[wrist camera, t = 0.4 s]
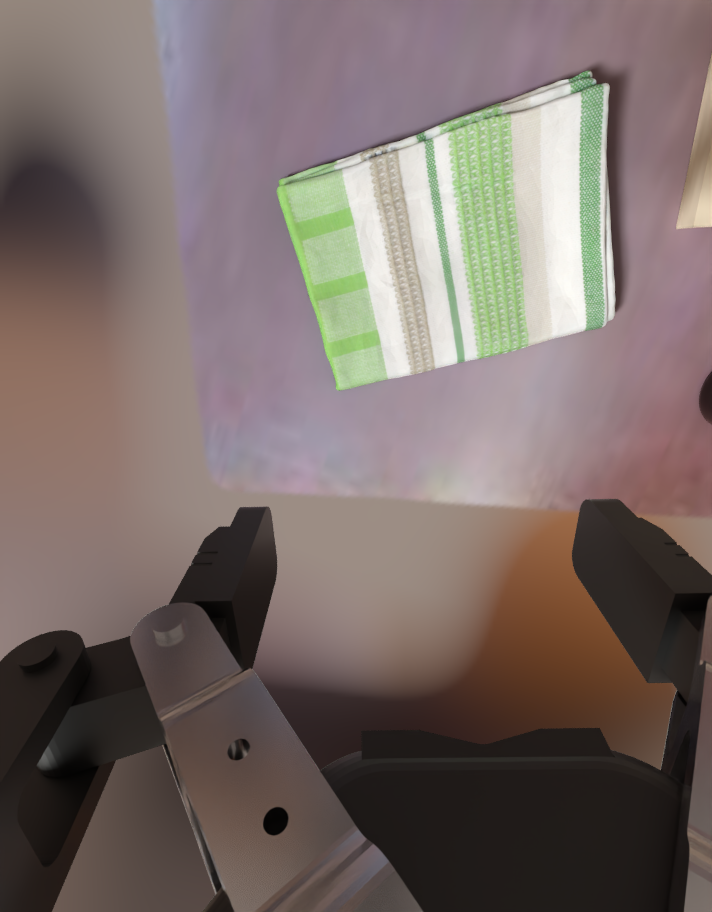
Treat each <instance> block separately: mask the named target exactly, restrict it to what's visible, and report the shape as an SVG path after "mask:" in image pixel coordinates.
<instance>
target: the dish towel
mask: <svg viewBox="0 0 712 912" xmlns="http://www.w3.org/2000/svg"><path fill="white" fill-rule="evenodd" d="M596 83H597V82H596V80H595V79H593V78H592V72H591V71H589V70H588V71H585V72H582V73H581V74H579V75H577V76H575V77H573V78H571V79H566V80H561V81H558V82H555V83H553V84H550V85H547V86H544V87H540V88H538V89H536V90H534V91H531V92H528V93H525V94H523V95H521V96H518V97H516V98H513V99H511V100H508V101H506V102H502V103H497V104H495V105H492V106H489V107H486V108H484V109H482V110H479V111H476V112H474V113H471V114H467V115H465V116H462V117H459V118H455V119H453V120H451V121H448V122H446V123H443V124H441V125H438V126H436V127H434V128H431V129H429V130H427V131H425V132H422V133H420V134H417V135H414V136H411V137H408V138H405V139H403V140H401V141H397V142H394V143H388V144H386V145H382V146H378V147H376V148H370V149H368V150H366V151H363V152H360V153H358V154H356V155H353V156H350V157H347V158H344V159H340V160H337V161H335V162H333V163H329V164H324V165H321V166H318V167H314V168H311V169H308V170H306V171H303V172H301V173H297V174H295V175H293V176H290V177H286V178H282V179H281V180H279V185H280V186H279V187H278V188H277V194H278V198H279V202H280V205H281V208H282V211H283V214H284V217H285V220H286V224H287V227H288V230H289V234H290V236H291V239H292V242H293V245H294V248H295V251H296V254H297V257H298V260H299V263H300V266H301V269H302V272H303V276H304V279H305V283H306V287H307V290H308V294H309V297H310V300H311V302H312V305H313V308H314V310H315V313H316V316H317V320H318V323H319V327H320V331H321V334H322V338H323V343H324V348H325V352H326V355H327V357H328V360H329V362H330V365H331V368H332V370H333V374H334V377H335V380H336V389H337V390H339V391H340V390H345V389H350V388H354V387H357V386H362V385H366V384H370V383H374V382H378V381H382V380H387V379H392V378H398V377H403V376H408V375H413V374H419V373H423V372H427V371H430V370H434V369H436V368H440V367H444V366H448V365H452V364H456V363H460V362H465V361H469V360H476V359H480V358H487V357H490V356H495V355H497V354H502V353H507V352H509V351H515V350H518V349H521V348H525V347H527V346H531V345H534V344H538V343H541V342H544V341H547V340H550V339H554V338H557V337H563V336H567V335H571V334H575V333H578V332H582V331H587V330H593V329H598V328H602V327H604V326H605V325H606V323H607V321H610V320H612V319H613V318H614V316H615V279H614V270H613V263H614V262H613V251H612V240H611V219H610V202H609V187H608V174H607V157H606V149H607V125H608V111H609V109H608V97H609V91H610V86H609V84H607V83H603V84H597V85H596Z"/></svg>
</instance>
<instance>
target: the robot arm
mask: <svg viewBox="0 0 712 912" xmlns="http://www.w3.org/2000/svg"><path fill="white" fill-rule="evenodd" d="M572 561H573V566H574V570H575V573H576V575H577V576H578V578H579V579H580V581H581V583H582V584H583V586H584V587H585V589H586V590H587V592H588V593H589V595H590V596H591V597H592V599H593V601H594V602H595V604H596V605H597V607H598V608H599V610H600V611H601V613H602V614H603V616H604V617H605V619H606V620H607V622H608V623H609V625H610V627H611V628H612V630H613V631H614V633H615V634H616V636H617V637H618V639H619V640H620V642H621V643H622V645H623V646H624V648H625V649H626V651H627V652H628V654H629V655H630V657H631V658H632V660H633V662H634V663H635V665H636V666H637V668H638V669H639V671H640V672H641V674H642V675H643V677H644V678H645V680H646V681H647V683H673V684H674V686H675V687H676V688H677V691H676V694H675V697H674V700H673V704H672V709H671V715H670V720H669V726H668V732H667V738H666V743H665V748H664V754H663V761H662V765H661V770H659V769H657V768H655V767H653V766H651V765H650V764H647V763H645V762H643V761H640V760H638V759H636V758H634V757H631V756H628V755H625V754H622V753H619V752H617V751H612V750H610V748H609V746H608V744H607V742H606V740H605V738H604V736H603V734H602V732H601V730H600V728H563V729H538V730H535V731H531V732H528V733H524V734H521V735H518V736H514V737H511V738H507V739H503V740H500V741H497V742H493V743H490V744H476V743H472V742H468V741H463V740H459V739H455V738H451V737H446V736H442V735H438V734H434V733H429V732H425V731H421V730H391V731H388V730H387V731H362V751H359V752H356V753H352V754H349V755H347V756H345V757H343V758H340V759H338V760H336V761H335V762H333V763H331V764H329V765H328V766H326V767H324V768H323V769H322V770H319V769H318V767H317V766H316V764H315V763H314V761H313V760H312V758H311V757H310V755H309V754H308V752H307V751H306V749H305V747H304V746H303V744H302V743H301V741H300V740H299V738H298V737H297V736H296V734H295V732H294V731H293V729H292V728H291V726H290V725H289V723H288V722H287V720H286V719H285V717H284V716H283V714H282V712H281V711H280V709H279V708H278V706H277V705H276V703H275V702H274V700H273V699H272V697H271V696H270V694H269V693H268V691H267V690H266V688H265V687H264V685H263V684H262V682H261V681H260V679H259V678H258V676H257V675H256V674H255V672H254V671H253V670H252V668H253V665H254V661H255V657H256V653H257V650H258V646H259V641H260V638H261V634H262V630H263V627H264V623H265V619H266V615H267V612H268V608H269V604H270V600H271V596H272V593H273V588H274V585H275V581H276V575H277V555H276V546H275V539H274V532H273V523H272V516H271V511H270V508H269V507H240V508H239V510H238V511H237V513H236V516H235V518H234V520H233V522H232V524H231V526H230V527H218V528H217V529H216V530H215V531H214V532H212V533H211V534H210V535H209V536H207V537H206V538H205V539H204V541H203V543H202V545H201V546H200V548H199V550H198V552H197V555H196V556H195V557H194V559H193V561H192V563H191V566H189V568H188V570H187V572H186V574H185V576H184V578H183V579H182V581H181V583H180V585H179V586H178V588H177V590H176V592H175V594H174V596H173V598H172V599H171V601H170V603H169V605H165V606H162V607H160V608H158V609H156V610H154V611H152V612H150V613H149V614H147V615H146V616H145V617H143V618H142V619H141V620H140V621H139V622H138V623H137V625H136V626H135V627H134V629H133V631H132V633H131V636H129V637H126V638H122V639H119V640H115V641H111V642H107V643H103V644H99V645H96V646H92V647H88V648H85V645H84V642H83V640H82V638H81V636H80V635H79V634H77V633H75V632H72V631H67V630H60V631H53V632H48V633H45V634H41V635H39V636H36V637H34V638H32V639H30V640H28V641H26V642H24V643H22V644H21V645H19V646H17V647H16V648H15V649H13V650H12V651H11V652H10V653H8V655H6V656H5V657H4V658H3V659H2V660H1V661H0V912H52V910H53V908H54V905H55V903H56V900H57V898H58V896H59V893H60V891H61V889H62V886H63V884H64V882H65V879H66V877H67V874H68V872H69V870H70V867H71V865H72V863H73V860H74V858H75V856H76V853H77V851H78V849H79V846H80V844H81V842H82V839H83V837H84V834H85V832H86V830H87V827H88V825H89V822H90V820H91V818H92V816H93V813H94V811H95V809H96V806H97V804H98V801H99V799H100V797H101V794H102V792H103V790H104V787H105V785H106V783H107V780H108V778H109V776H110V773H111V771H112V769H113V766H114V764H115V761H116V760H117V759H121V758H123V757H127V756H130V755H133V754H136V753H139V752H142V751H145V750H148V749H151V748H154V747H158V746H161V745H163V748H164V751H165V753H166V756H167V759H168V761H169V764H170V767H171V770H172V772H173V775H174V778H175V781H176V784H177V786H178V789H179V792H180V795H181V797H182V800H183V803H184V806H185V808H186V811H187V814H188V816H189V819H190V822H191V825H192V828H193V830H194V833H195V836H196V839H197V842H198V845H199V848H200V851H201V854H202V857H203V860H204V863H205V865H206V868H207V871H208V874H209V877H210V880H211V883H212V885H213V888H214V891H215V893H216V895H215V896H214V898H213V899H212V900H211V901H210V902H209V904H208V905H207V906H206V908H205V909H204V910H203V911H202V912H712V575H711V574H710V573H709V572H708V571H707V570H706V569H704V568H703V567H702V566H701V565H700V564H699V563H698V562H697V561H696V560H695V559H694V558H693V557H689V555H688V553H687V552H686V551H685V550H684V549H683V548H682V547H681V546H680V545H677V544H676V542H675V541H674V540H673V539H672V538H671V537H670V536H669V535H668V534H667V533H666V532H665V531H664V530H663V529H661V528H659V527H657V526H656V525H654V524H652V523H650V522H648V521H646V520H644V519H643V518H638V517H637V516H636V515H635V514H634V513H632V512H631V511H630V510H629V509H628V508H627V507H626V506H625V505H624V504H623V503H622V502H621V501H620V500H618V499H591V500H585V501H584V502H583V503H582V505H581V507H580V512H579V517H578V523H577V528H576V534H575V539H574V544H573V550H572Z"/></svg>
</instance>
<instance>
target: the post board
mask: <svg viewBox="0 0 712 912" xmlns="http://www.w3.org/2000/svg"><path fill="white" fill-rule="evenodd" d="M700 227H712V54H711V59H710V64H709V69H708V74H707V79H706V84H705V88H704V93H703V98H702V103H701V108H700V113H699V118H698V123H697V128H696V132H695V137H694V142H693V147H692V152H691V157H690V162H689V167H688V172H687V177H686V181H685V186H684V191H683V196H682V201H681V206H680V211H679V216H678V221H677V225H676V229H682V228H700Z"/></svg>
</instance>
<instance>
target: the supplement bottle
mask: <svg viewBox="0 0 712 912" xmlns="http://www.w3.org/2000/svg"><path fill="white" fill-rule="evenodd" d="M699 407H700V411H701V413H702V415H703V417H704V418H705V419H706V420H707V421H708V422H709V423H710V424H712V373H711V374H710V375H709V376H708V377H707V379H706V380H705V382H704V384H703V386H702V388H701V391H700V396H699Z"/></svg>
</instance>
